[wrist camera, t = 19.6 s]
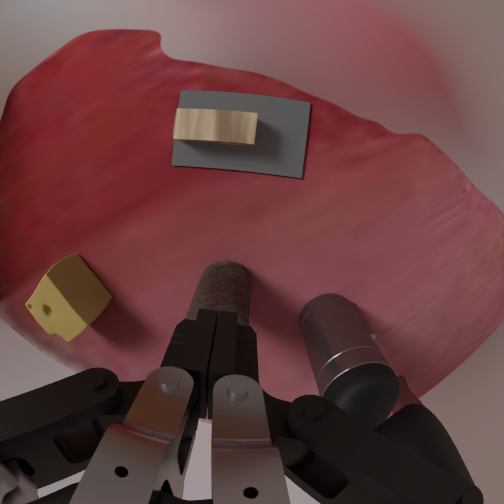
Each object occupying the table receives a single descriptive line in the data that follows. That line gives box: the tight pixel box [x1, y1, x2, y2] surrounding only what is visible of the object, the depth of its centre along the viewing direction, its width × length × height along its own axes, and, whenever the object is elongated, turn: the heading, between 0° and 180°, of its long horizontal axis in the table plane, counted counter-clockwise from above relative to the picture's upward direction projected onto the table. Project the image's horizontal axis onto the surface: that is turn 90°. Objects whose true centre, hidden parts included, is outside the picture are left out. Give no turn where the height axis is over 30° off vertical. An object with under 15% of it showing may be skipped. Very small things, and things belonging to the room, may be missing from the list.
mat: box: [172, 91, 310, 178], centre depth 35 cm, size 18×11×1 cm, turn 84°
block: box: [173, 108, 258, 147], centre depth 32 cm, size 4×4×10 cm
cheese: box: [26, 254, 112, 342], centre depth 37 cm, size 10×11×10 cm
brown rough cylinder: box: [185, 261, 251, 326], centre depth 32 cm, size 8×7×20 cm
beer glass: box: [392, 376, 425, 414], centre depth 43 cm, size 7×7×15 cm
